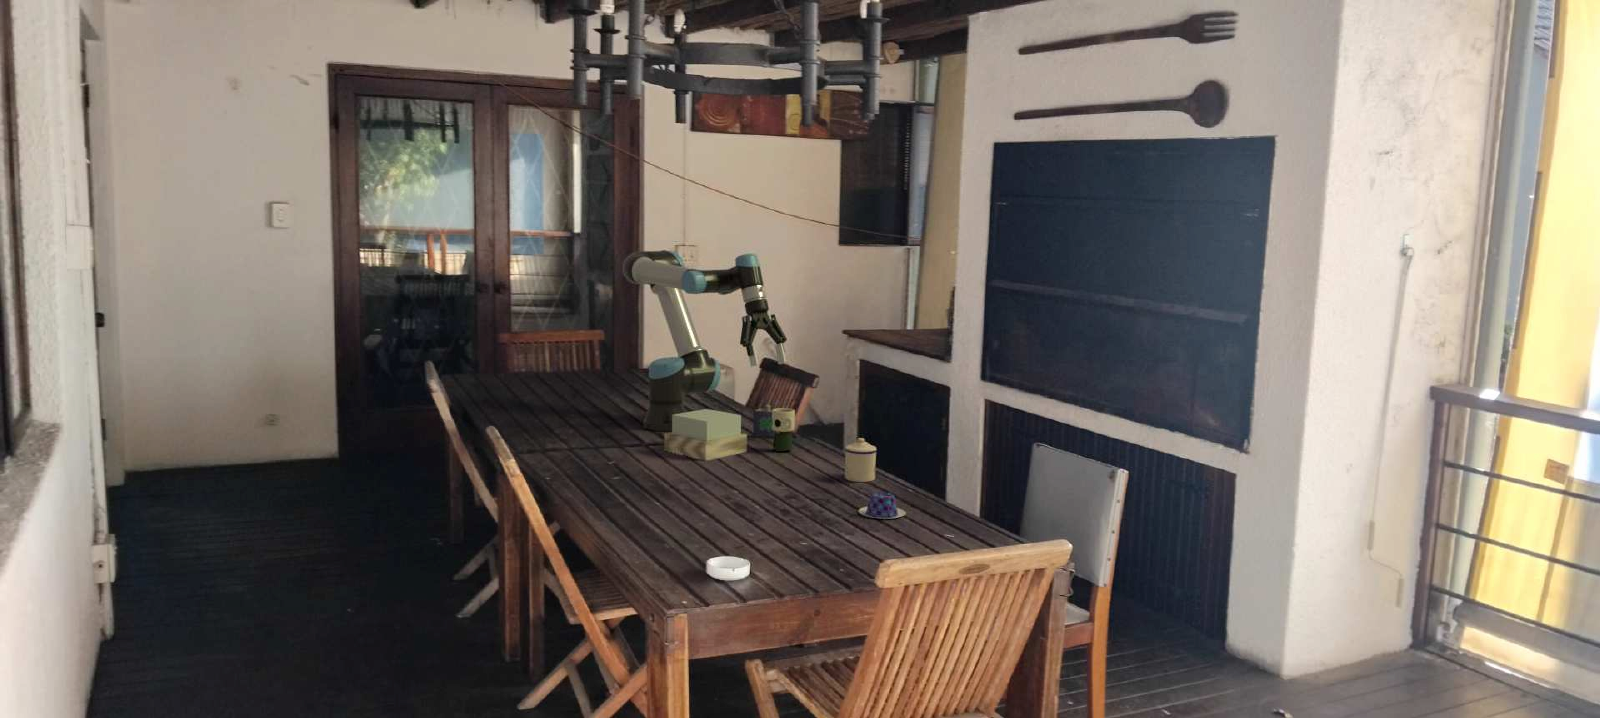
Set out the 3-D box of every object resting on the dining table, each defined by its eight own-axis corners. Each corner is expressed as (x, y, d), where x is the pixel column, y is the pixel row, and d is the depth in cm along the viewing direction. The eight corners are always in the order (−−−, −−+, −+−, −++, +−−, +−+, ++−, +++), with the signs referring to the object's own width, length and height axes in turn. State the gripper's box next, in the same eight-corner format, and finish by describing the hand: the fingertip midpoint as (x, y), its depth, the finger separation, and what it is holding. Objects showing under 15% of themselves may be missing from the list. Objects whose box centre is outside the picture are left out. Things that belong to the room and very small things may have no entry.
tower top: (672, 433, 367) (672, 414, 366) (706, 427, 379) (706, 408, 378) (706, 441, 358) (707, 421, 357) (740, 434, 369) (741, 415, 368)
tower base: (664, 452, 368) (664, 433, 367) (705, 444, 381) (705, 426, 381) (705, 462, 356) (705, 442, 356) (746, 453, 370) (746, 434, 369)
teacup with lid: (881, 480, 337) (883, 440, 335) (854, 483, 332) (855, 443, 331) (860, 471, 347) (861, 432, 345) (833, 474, 343) (834, 434, 341)
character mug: (764, 448, 375) (765, 407, 374) (785, 446, 379) (786, 406, 377) (780, 455, 366) (781, 413, 364) (800, 453, 369) (801, 412, 367)
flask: (781, 436, 394) (782, 404, 393) (780, 438, 391) (781, 406, 390) (753, 435, 394) (754, 403, 393) (752, 437, 392) (753, 405, 390)
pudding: (871, 522, 294) (871, 502, 294) (850, 510, 305) (851, 490, 305) (913, 518, 299) (914, 498, 298) (892, 506, 310) (893, 487, 309)
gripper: (737, 298, 374) (751, 363, 372) (788, 297, 393) (802, 359, 391) (720, 304, 379) (734, 369, 377) (772, 303, 398) (785, 365, 396)
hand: (768, 364), depth 384 cm, fingers open, 13 cm apart
